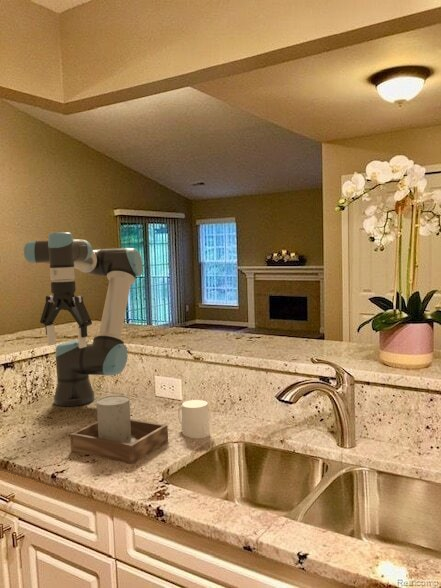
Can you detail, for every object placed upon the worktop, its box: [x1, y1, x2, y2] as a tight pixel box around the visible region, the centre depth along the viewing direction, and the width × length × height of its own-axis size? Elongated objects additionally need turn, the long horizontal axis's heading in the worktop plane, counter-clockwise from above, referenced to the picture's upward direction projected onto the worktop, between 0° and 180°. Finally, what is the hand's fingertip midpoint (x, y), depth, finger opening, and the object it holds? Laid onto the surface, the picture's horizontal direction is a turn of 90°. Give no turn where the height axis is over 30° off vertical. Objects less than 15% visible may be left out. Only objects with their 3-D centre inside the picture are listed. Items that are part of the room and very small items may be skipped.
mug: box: [177, 399, 211, 439], centre depth 153 cm, size 12×9×8 cm
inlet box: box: [69, 418, 169, 465], centre depth 144 cm, size 17×22×5 cm
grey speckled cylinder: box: [96, 395, 132, 443], centre depth 145 cm, size 10×10×12 cm
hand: (66, 346), depth 160 cm, fingers open, 13 cm apart
